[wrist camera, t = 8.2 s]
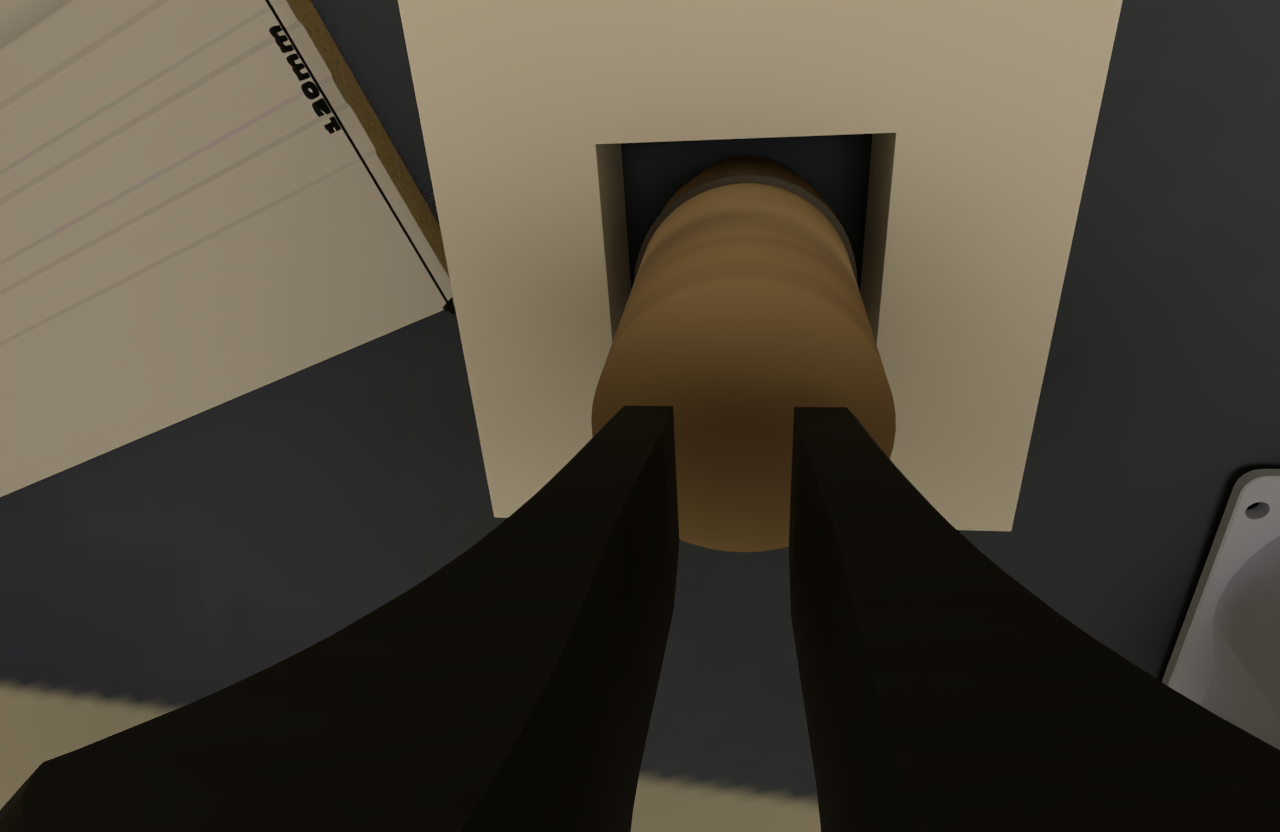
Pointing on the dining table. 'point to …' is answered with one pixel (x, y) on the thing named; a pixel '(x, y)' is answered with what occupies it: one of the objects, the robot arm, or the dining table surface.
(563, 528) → the robot arm
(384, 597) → the dining table surface
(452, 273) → the socket board
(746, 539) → the oak peg
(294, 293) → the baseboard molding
